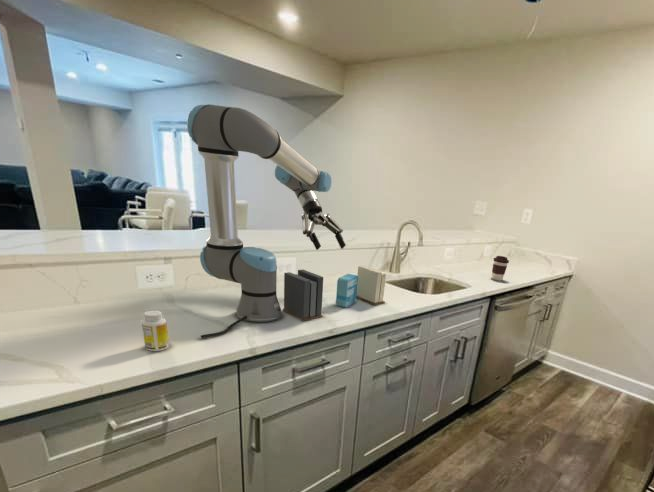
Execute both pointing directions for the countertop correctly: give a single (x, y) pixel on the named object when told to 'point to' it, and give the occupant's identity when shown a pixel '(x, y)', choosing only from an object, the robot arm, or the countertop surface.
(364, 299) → the cream books
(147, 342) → the supplement bottle
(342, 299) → the blue box
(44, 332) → the countertop surface
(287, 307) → the grey books
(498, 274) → the coffee cup
